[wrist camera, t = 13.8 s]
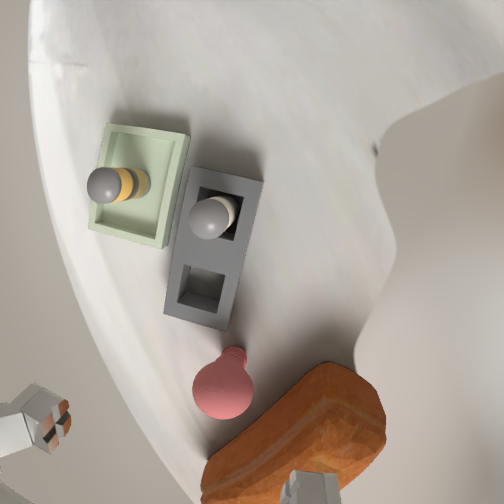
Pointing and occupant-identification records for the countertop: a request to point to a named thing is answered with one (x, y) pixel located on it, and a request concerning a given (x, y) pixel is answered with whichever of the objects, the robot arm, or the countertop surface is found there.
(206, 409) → the light bulb
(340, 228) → the countertop surface
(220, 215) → the ball
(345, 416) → the bread
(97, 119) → the countertop surface
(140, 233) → the tray
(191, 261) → the fuse holder
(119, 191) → the cylinder
